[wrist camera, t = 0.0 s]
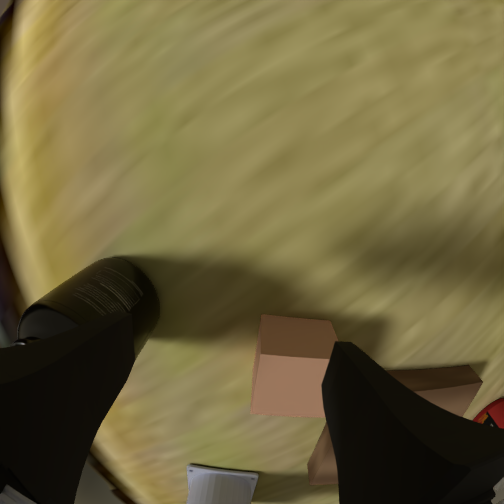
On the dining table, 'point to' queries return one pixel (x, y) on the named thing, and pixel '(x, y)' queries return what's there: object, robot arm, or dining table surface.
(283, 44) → the dining table surface
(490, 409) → the canned food
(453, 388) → the walnut base
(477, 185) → the dining table surface
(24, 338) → the supplement bottle
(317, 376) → the terracotta cube
